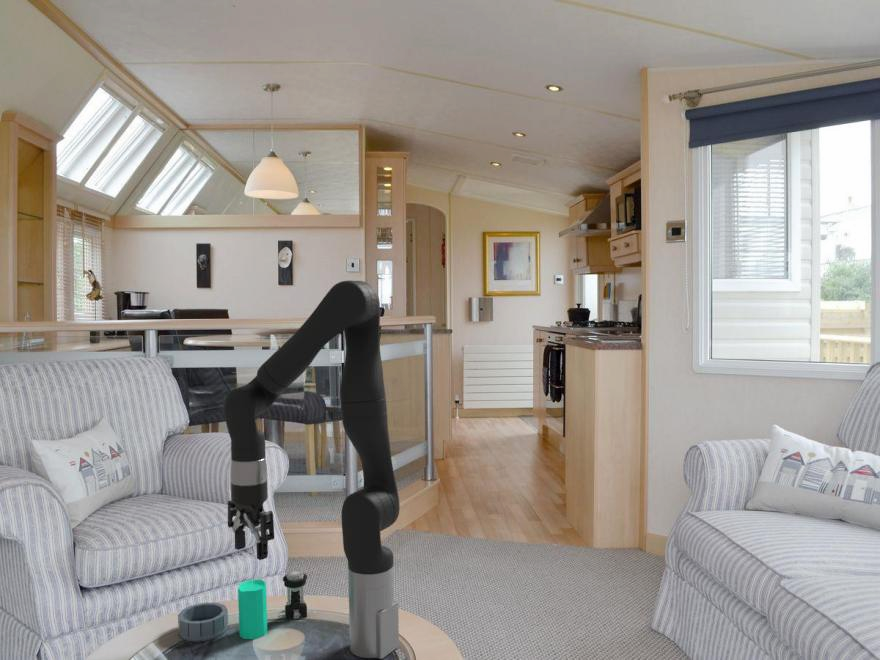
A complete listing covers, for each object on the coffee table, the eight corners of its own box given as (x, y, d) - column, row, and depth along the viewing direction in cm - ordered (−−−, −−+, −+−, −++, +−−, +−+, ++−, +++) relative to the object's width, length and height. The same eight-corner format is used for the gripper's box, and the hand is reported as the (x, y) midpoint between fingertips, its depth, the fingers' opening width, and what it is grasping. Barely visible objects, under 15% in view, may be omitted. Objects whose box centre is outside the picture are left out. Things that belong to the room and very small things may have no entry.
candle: (253, 623, 166) (251, 570, 165) (273, 630, 163) (272, 576, 162) (233, 635, 161) (231, 580, 160) (253, 641, 158) (251, 586, 157)
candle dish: (237, 626, 165) (236, 609, 164) (200, 646, 156) (199, 627, 156) (206, 616, 170) (205, 598, 170) (169, 634, 162) (168, 616, 161)
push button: (278, 623, 166) (277, 579, 165) (277, 613, 171) (275, 570, 170) (309, 619, 168) (308, 575, 167) (306, 609, 173) (305, 567, 172)
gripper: (283, 481, 157) (285, 557, 159) (246, 469, 167) (248, 540, 168) (252, 489, 152) (254, 567, 153) (215, 476, 162) (217, 550, 163)
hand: (251, 553), depth 161 cm, fingers open, 8 cm apart
